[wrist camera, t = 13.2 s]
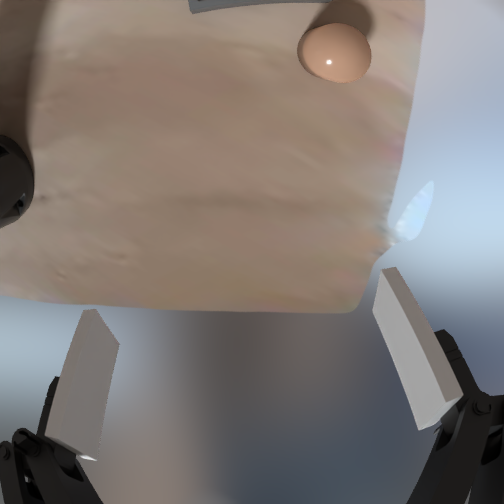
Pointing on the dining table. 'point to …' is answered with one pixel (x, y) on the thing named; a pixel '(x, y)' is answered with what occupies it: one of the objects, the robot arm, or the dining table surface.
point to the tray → (238, 3)
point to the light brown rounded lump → (335, 52)
